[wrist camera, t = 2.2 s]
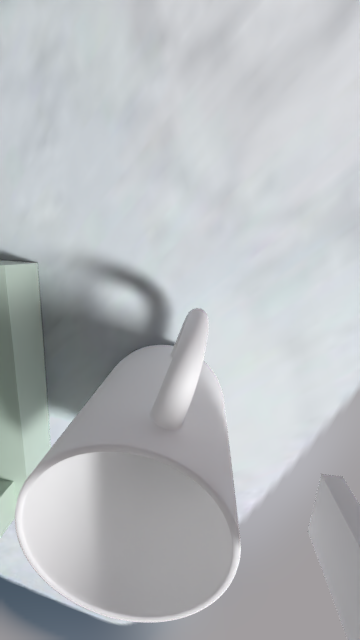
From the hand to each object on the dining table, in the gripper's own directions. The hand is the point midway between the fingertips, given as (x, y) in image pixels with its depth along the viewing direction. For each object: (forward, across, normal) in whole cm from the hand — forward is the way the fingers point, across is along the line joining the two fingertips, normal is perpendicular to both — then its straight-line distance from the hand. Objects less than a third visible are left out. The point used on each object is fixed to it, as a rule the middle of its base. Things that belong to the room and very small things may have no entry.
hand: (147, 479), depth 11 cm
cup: (+9, 0, +1) cm, 9 cm away
